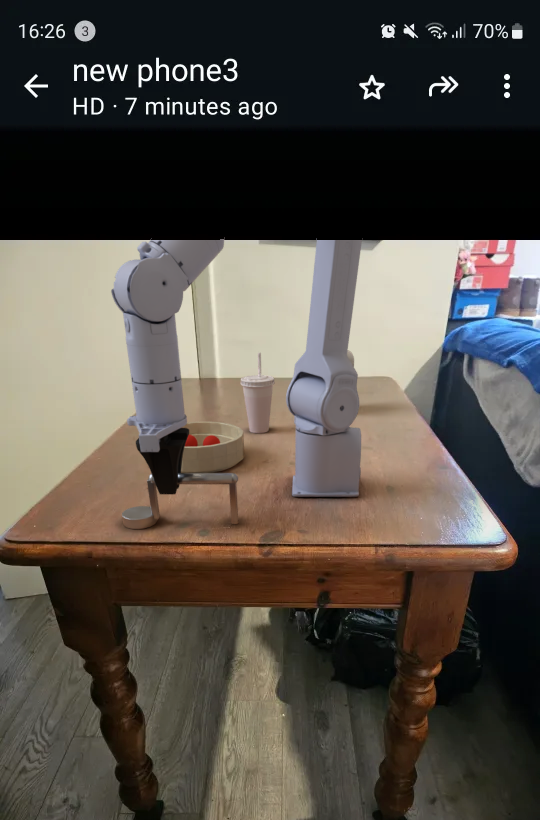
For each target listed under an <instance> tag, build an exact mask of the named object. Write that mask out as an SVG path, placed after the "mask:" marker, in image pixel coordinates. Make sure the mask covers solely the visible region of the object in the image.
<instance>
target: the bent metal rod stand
mask: <svg viewBox="0 0 540 820" xmlns="http://www.w3.org/2000/svg"><path fill="white" fill-rule="evenodd" d="M238 481H239V477H238V475H237V474H236V473H234V472H212V473H178V484H180V485H228V487H229V488H228V489H229V491H228V492H229V503H230V505H229V506H230V522H231V525H238V523H239V507H238V489H237V483H238ZM146 485H147V493H148V499H149V506H146V505H138V506H132V507H129V508H126V509H125V510H123V511H122V512H121V517H122V519H121V520H122V524H123V526H124V527H125V528H127V529H131V530H143V529H147V528H150V527H153V526H154V525H156V523H157V522H158V520H159V519H160V517H161V513H160V507H159V498H158V489H157V487H156V484H155V481H154V479H153V476H152V473H150V474H149V475H148V478H147V479H146Z"/></svg>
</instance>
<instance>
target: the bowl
mask: <svg viewBox="0 0 540 820" xmlns="http://www.w3.org/2000/svg"><path fill="white" fill-rule="evenodd" d="M181 428H188V429H189V435H193V436H194V437H195V438H196V439H197V442H198V446H197V447H184V452H183V457H182V466H181V473H218V472H221V471H225V470H228V469H231V468H232V467H235V466H236V465H237V464H238V463H239V462H241V461H242V460H243V459H244V457H245V440H244V439H245V435H244V430H243V429H242V428H241V427H239V426H237V425H235V424H232V423H227V422H221V421H220V422H219V421H189V422H188V421H187V424H186V425H185V426H183V427H181ZM210 435H213V436H216V437H217V438H218V439H219V440H220V444H215V445H208V446H203V441H204V439H205V438H206V437H207V436H210Z"/></svg>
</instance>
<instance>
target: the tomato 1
mask: <svg viewBox="0 0 540 820" xmlns="http://www.w3.org/2000/svg"><path fill="white" fill-rule="evenodd" d="M197 446H198V442H197V439H196V438H195V437H194V436H193V435H188V438H187V441H186V444H185V447H197Z"/></svg>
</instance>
